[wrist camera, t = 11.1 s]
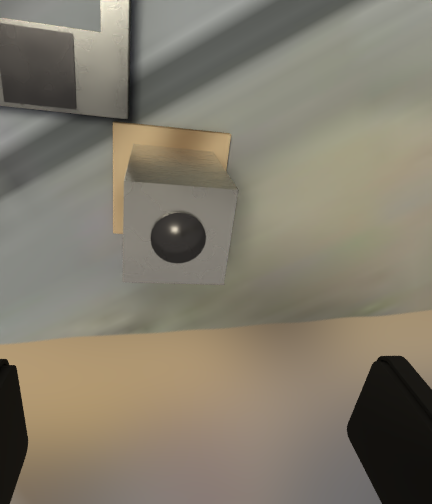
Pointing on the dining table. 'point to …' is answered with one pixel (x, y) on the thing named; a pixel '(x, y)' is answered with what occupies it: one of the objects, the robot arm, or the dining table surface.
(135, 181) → the metal cube with knob
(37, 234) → the dining table surface
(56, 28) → the grey metal plate
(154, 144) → the coaster pad
